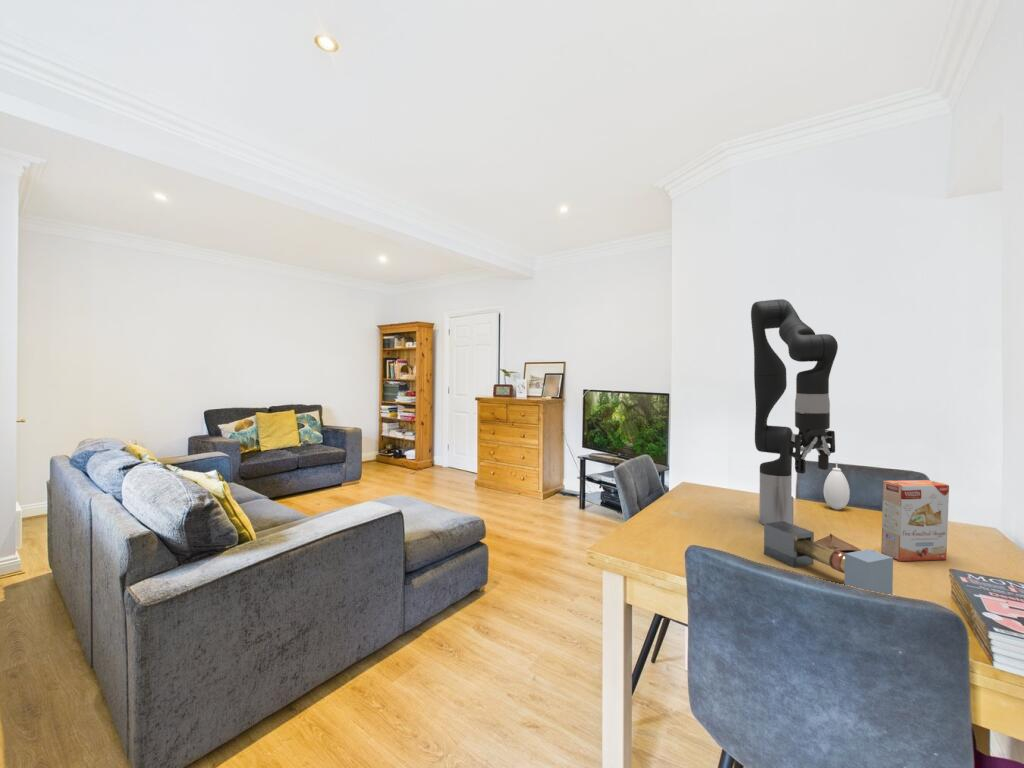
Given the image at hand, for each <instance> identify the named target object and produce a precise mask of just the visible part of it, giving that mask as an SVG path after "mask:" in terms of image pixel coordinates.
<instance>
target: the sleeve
mask: <svg viewBox="0 0 1024 768" xmlns="http://www.w3.org/2000/svg"><path fill="white" fill-rule="evenodd" d="M801 538H803V539H805V540H808V541H811V542H813V543H814V542H815V540H814V539H815V532H814V531H812V530H809V529H808V528H804V527H801V526H799V525H795V524H794V523H793V524H790V523H787V522H784V521H780V522H773V523H766V524H763V554H764V555H765V556H767V557H770V558H772V559H774V560H776V561H779V563H780V562H781V563H782V564H785V565H788V566H790V567H791V568H799V567H804V566H810V565H814V559H812V558H809V557H807V556H804V555H802V554H800V553H797V539H801Z"/></svg>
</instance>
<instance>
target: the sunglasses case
mask: <svg viewBox="0 0 1024 768" xmlns="http://www.w3.org/2000/svg"><path fill="white" fill-rule="evenodd" d="M814 543H816V544H819V545H821V546H824V547H827V548H829V549H832V550H834V551H840V552H843V553H850V552H856V551H861V550H862V549H860V548H858V547H856V546H854V545H853V544H851V543H849V542H847V541H845V540H843V539H841V538H838V537H836V536H835V535H833V534H832V533H829V535H827V536H825V537H822V538H821V539H817V540H815V541H814Z"/></svg>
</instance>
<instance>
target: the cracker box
mask: <svg viewBox="0 0 1024 768" xmlns="http://www.w3.org/2000/svg"><path fill="white" fill-rule="evenodd" d="M949 494H950V485H948V484H946V483H944V482H938V481H935V480H934V481H933V480H929V479H921V480H920V479H917V480H915V479H914V480H913V479H912V480H911V479H910V480H907V479H906V480H883V482H882V517H881V546H880V547H881V552H880V553H881V554H884V555H887V556H890V557H893V560H894V559H895V560H896V561H899V562H910V561H912V562H913V561H914V562H915V561H918V562H920V561H946V560H947V554H948V553H947V551H948V550H947V549H948V524H949V501H950V500H949V497H950V495H949Z"/></svg>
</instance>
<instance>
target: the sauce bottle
mask: <svg viewBox="0 0 1024 768" xmlns="http://www.w3.org/2000/svg"><path fill="white" fill-rule="evenodd" d="M850 492H851V490H850V485H849V482H848V480H847V478H846V476H845V474H844V473H843V471H842V469H841V468H840V467H838V461H836V462H835V467H832V469H831V471H830V472H829V474H827V477H826V478H825V481H824V484H823V496H824V497H823V498H824V501H825V502H826V504H827V505H828V506H829V507H830V508H831V509H833V510H836V511H840V510H842V509H843V508H845V507H846V506H847V505H848V503H849V500H850V495H851V493H850Z"/></svg>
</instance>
